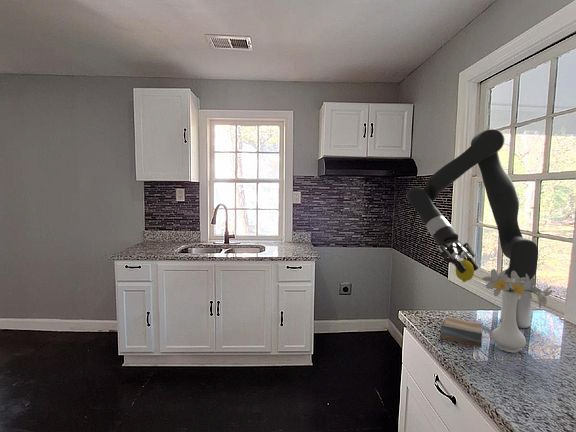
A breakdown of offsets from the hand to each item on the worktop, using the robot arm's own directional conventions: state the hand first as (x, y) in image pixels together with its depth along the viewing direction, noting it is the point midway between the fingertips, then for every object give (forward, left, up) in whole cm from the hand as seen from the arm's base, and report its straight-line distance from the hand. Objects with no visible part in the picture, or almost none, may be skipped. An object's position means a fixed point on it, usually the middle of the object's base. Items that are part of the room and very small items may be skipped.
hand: (469, 270), depth 111 cm
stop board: (-5, -1, -24) cm, 24 cm away
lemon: (-1, -1, -5) cm, 5 cm away
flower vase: (0, +13, -24) cm, 27 cm away
